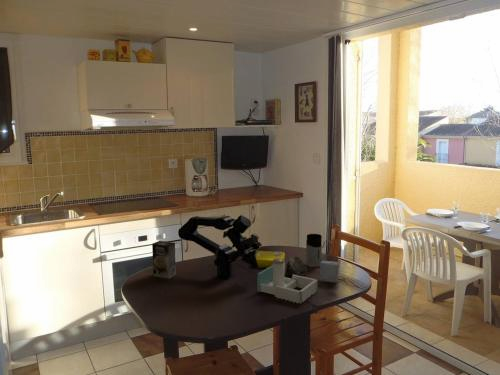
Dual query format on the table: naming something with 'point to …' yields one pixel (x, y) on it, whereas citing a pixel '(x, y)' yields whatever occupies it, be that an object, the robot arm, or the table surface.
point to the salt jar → (278, 272)
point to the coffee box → (164, 259)
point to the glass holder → (314, 250)
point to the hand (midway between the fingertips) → (257, 266)
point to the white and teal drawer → (271, 281)
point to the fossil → (296, 267)
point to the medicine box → (329, 271)
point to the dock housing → (294, 295)
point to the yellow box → (268, 258)
